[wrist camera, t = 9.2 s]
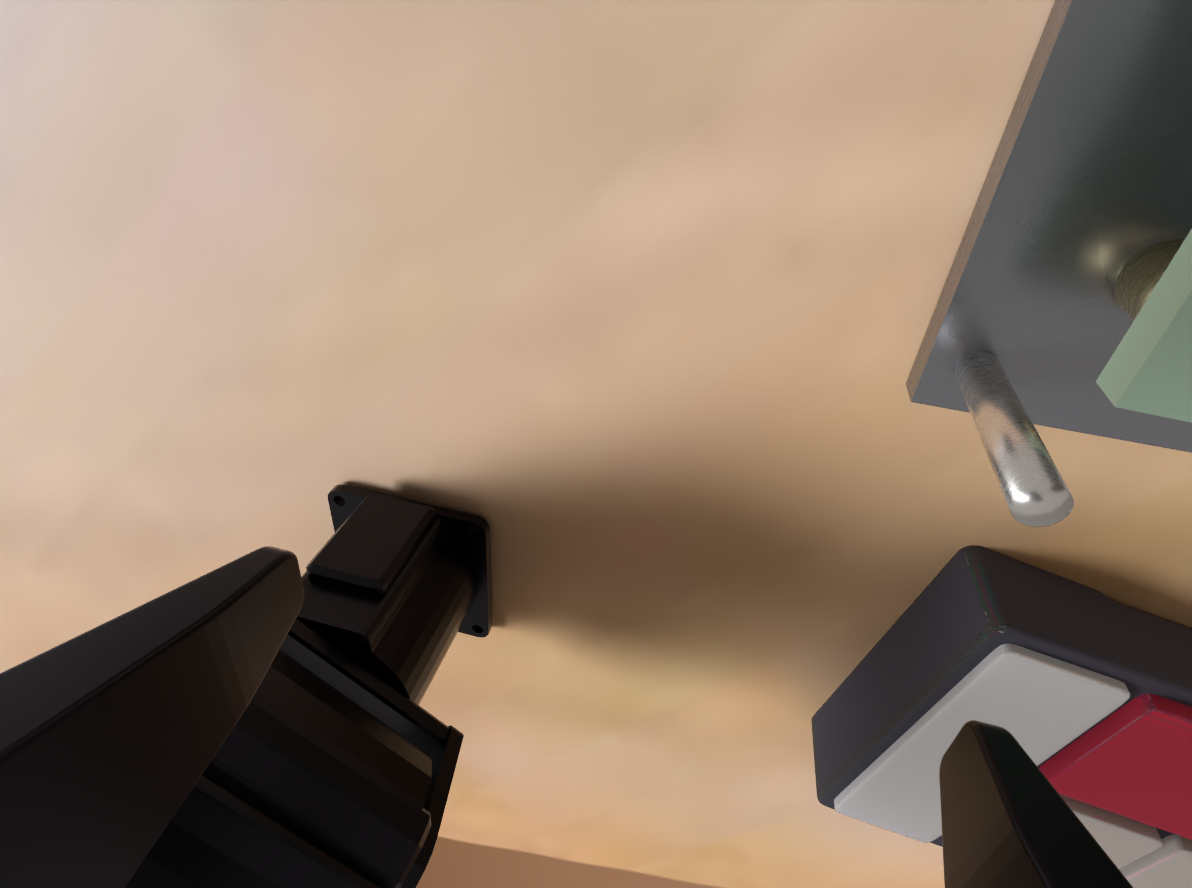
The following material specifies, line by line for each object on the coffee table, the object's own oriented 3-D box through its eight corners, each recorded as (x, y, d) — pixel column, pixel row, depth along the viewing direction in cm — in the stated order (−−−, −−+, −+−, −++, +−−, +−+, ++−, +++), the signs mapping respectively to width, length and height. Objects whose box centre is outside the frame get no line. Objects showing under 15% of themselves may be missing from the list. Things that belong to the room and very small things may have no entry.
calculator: (1209, 962, 24) (813, 824, 24) (1152, 837, 27) (806, 717, 27) (1550, 835, 17) (1006, 647, 17) (1419, 693, 21) (965, 536, 21)
